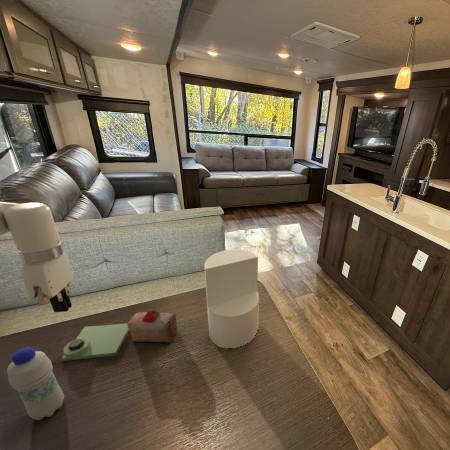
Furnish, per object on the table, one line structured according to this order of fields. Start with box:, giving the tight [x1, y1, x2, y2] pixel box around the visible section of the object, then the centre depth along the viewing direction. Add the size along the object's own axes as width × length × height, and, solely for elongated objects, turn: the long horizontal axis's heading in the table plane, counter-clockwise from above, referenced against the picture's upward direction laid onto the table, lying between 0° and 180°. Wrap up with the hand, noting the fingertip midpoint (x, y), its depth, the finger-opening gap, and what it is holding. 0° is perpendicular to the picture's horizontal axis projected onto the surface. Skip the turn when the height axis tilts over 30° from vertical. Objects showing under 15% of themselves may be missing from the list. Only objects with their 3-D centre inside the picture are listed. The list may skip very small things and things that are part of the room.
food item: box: [126, 307, 178, 344], centre depth 82 cm, size 14×8×10 cm, turn 92°
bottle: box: [6, 346, 65, 421], centre depth 57 cm, size 7×7×20 cm
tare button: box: [69, 338, 83, 351], centre depth 74 cm, size 3×3×2 cm
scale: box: [61, 322, 130, 362], centre depth 79 cm, size 14×12×3 cm
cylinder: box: [203, 249, 260, 349], centre depth 84 cm, size 17×17×28 cm
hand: (63, 309), depth 69 cm, fingers closed
